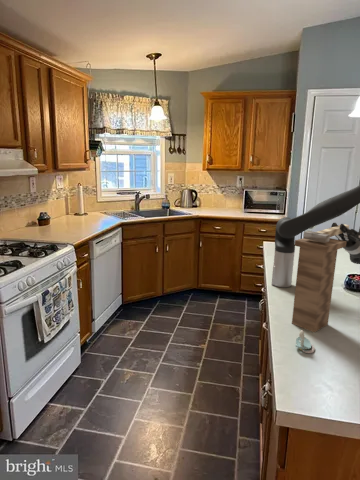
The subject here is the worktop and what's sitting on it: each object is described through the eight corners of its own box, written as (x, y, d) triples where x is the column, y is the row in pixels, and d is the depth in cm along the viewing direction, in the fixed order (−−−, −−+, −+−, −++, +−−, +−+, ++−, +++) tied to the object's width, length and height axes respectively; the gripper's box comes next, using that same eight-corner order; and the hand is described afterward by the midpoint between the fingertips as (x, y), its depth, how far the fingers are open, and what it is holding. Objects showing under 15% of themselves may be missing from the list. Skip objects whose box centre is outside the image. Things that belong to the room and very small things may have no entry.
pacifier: (314, 345, 115) (295, 341, 117) (317, 328, 114) (298, 324, 116) (313, 356, 108) (294, 351, 111) (316, 338, 107) (296, 334, 109)
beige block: (325, 242, 117) (325, 236, 117) (303, 238, 123) (304, 231, 122) (355, 232, 132) (356, 226, 132) (335, 228, 138) (336, 222, 138)
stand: (316, 335, 122) (327, 246, 115) (286, 322, 131) (295, 240, 123) (335, 323, 131) (346, 241, 124) (306, 312, 139) (314, 235, 132)
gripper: (337, 231, 147) (323, 213, 135) (372, 237, 137) (359, 219, 125) (331, 247, 146) (316, 231, 134) (366, 254, 136) (352, 237, 124)
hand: (337, 225), depth 130 cm, fingers closed on beige block, 2 cm apart
